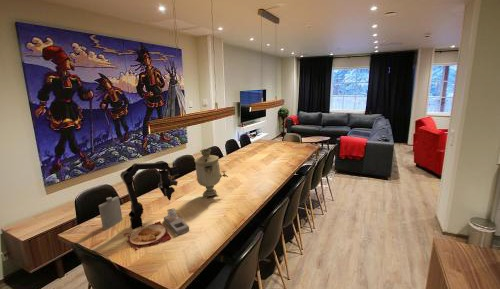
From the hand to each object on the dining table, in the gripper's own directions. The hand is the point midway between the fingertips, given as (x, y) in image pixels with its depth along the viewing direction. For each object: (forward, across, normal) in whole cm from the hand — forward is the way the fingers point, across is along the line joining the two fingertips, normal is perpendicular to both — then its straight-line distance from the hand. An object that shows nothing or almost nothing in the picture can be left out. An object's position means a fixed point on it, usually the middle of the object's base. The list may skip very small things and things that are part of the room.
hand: (167, 198), depth 194 cm
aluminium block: (+9, -14, +2) cm, 17 cm away
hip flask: (+13, +12, +36) cm, 40 cm away
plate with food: (+13, -21, +22) cm, 33 cm away
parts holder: (+12, -20, +2) cm, 24 cm away
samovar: (+13, +7, -41) cm, 43 cm away
